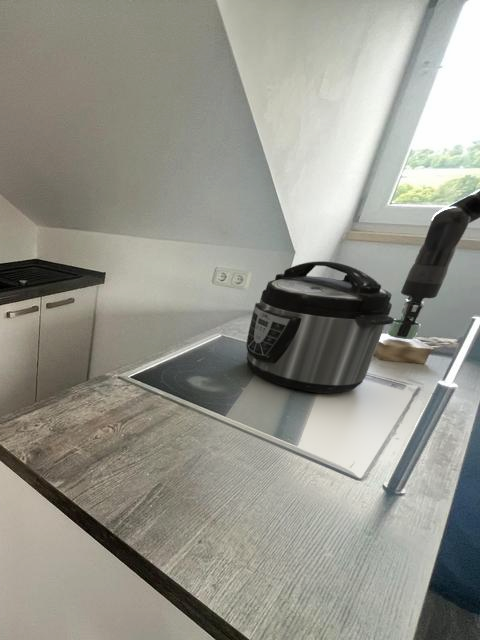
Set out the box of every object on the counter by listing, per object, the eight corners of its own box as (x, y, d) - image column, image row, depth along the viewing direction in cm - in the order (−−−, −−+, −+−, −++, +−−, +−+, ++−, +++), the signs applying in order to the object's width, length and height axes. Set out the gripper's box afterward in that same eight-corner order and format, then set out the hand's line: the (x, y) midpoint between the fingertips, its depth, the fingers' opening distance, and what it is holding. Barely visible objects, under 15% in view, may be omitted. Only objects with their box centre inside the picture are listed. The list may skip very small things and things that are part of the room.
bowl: (411, 334, 121) (417, 321, 119) (417, 341, 116) (423, 326, 114) (384, 331, 124) (389, 317, 122) (388, 337, 119) (394, 323, 118)
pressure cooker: (236, 348, 129) (260, 251, 117) (343, 363, 118) (383, 256, 105) (241, 386, 105) (273, 269, 92) (377, 410, 93) (434, 278, 80)
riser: (404, 349, 126) (411, 335, 124) (428, 364, 116) (435, 349, 114) (359, 346, 130) (365, 332, 128) (378, 360, 119) (385, 345, 117)
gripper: (444, 286, 106) (419, 342, 113) (441, 277, 116) (417, 330, 122) (406, 282, 111) (384, 336, 118) (406, 274, 120) (385, 325, 127)
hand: (401, 333), depth 120 cm, fingers closed on bowl, 6 cm apart
